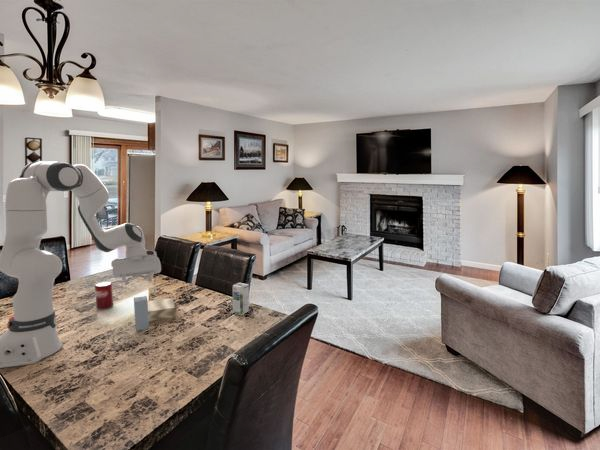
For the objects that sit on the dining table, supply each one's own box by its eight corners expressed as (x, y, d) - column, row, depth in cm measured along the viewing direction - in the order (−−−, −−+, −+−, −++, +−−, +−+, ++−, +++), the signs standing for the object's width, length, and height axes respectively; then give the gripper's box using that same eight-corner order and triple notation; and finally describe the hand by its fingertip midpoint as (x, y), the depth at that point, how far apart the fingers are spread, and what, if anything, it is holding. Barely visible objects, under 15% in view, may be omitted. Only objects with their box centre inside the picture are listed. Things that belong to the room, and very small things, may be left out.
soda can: (105, 310, 157) (103, 286, 155) (92, 309, 158) (90, 285, 156) (116, 304, 164) (115, 282, 162) (104, 303, 165) (102, 281, 163)
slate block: (135, 330, 137) (134, 301, 135) (135, 326, 141) (133, 297, 139) (148, 328, 139) (147, 299, 138) (148, 323, 144) (146, 296, 142)
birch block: (144, 322, 146) (143, 312, 145) (144, 311, 157) (143, 301, 156) (175, 317, 151) (174, 307, 151) (172, 307, 163) (172, 298, 162)
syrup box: (232, 314, 156) (231, 285, 153) (240, 309, 161) (239, 281, 159) (241, 316, 153) (241, 287, 151) (249, 312, 158) (249, 283, 156)
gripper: (110, 255, 146) (111, 282, 139) (159, 251, 156) (162, 276, 149) (111, 262, 151) (112, 289, 144) (159, 258, 161) (162, 282, 154)
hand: (138, 282), depth 147 cm, fingers open, 8 cm apart
